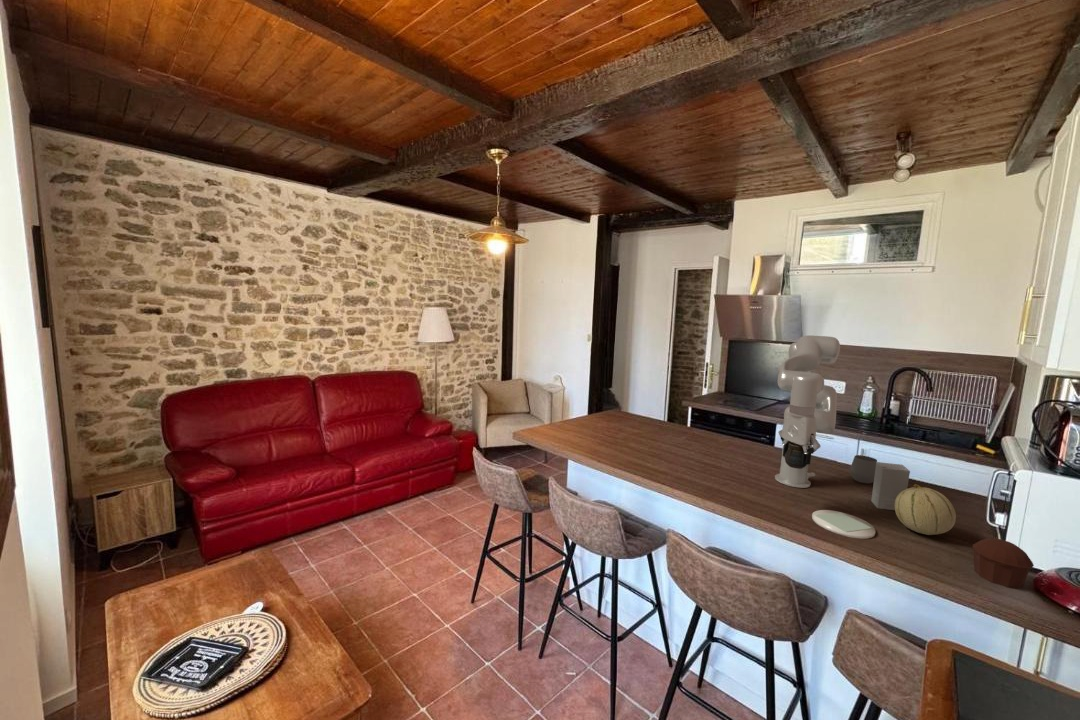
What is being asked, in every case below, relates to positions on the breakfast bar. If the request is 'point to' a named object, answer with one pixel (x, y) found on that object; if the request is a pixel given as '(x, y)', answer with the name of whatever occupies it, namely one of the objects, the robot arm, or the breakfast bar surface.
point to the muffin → (1001, 562)
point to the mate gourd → (794, 456)
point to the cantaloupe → (925, 510)
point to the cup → (863, 469)
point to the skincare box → (888, 484)
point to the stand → (843, 524)
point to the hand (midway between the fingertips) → (795, 459)
